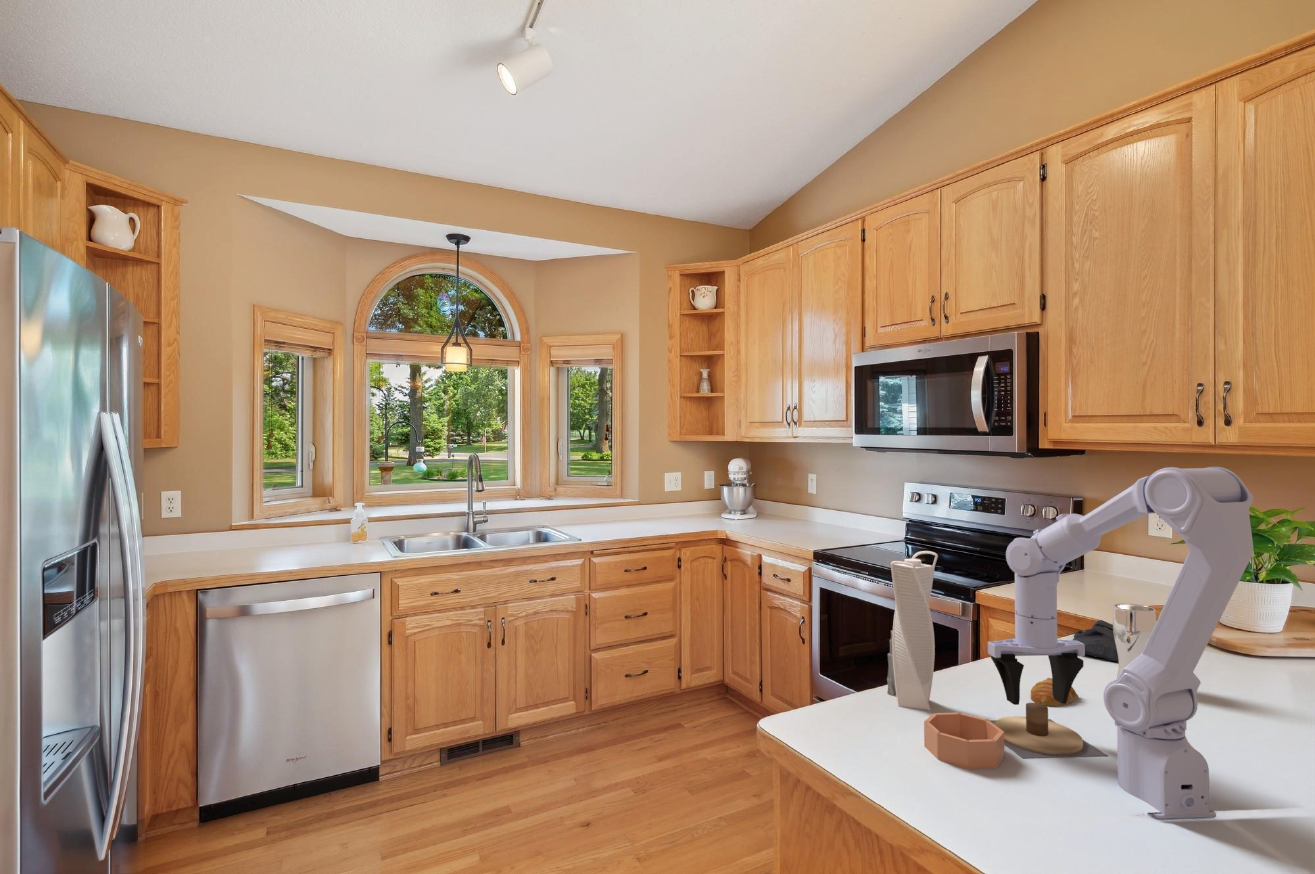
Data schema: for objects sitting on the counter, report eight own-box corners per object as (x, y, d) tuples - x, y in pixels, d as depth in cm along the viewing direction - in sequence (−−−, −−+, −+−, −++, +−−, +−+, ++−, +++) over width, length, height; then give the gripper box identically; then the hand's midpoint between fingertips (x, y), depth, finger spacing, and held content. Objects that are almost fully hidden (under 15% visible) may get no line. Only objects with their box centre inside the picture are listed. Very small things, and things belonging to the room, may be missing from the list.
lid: (1102, 753, 96) (1101, 721, 96) (1024, 756, 95) (1023, 723, 95) (1049, 720, 108) (1048, 691, 108) (978, 722, 107) (978, 692, 107)
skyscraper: (935, 701, 118) (934, 548, 119) (942, 719, 111) (940, 555, 111) (886, 697, 121) (885, 546, 121) (889, 714, 113) (888, 553, 113)
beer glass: (1166, 688, 124) (1165, 609, 125) (1142, 693, 122) (1141, 612, 122) (1128, 676, 131) (1127, 601, 131) (1105, 680, 128) (1104, 604, 129)
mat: (1108, 760, 95) (1108, 755, 95) (1022, 763, 95) (1022, 757, 95) (1050, 723, 108) (1050, 718, 108) (974, 725, 108) (974, 720, 108)
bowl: (1016, 772, 92) (1016, 740, 92) (947, 774, 91) (947, 742, 91) (978, 740, 102) (977, 711, 102) (915, 742, 101) (915, 713, 101)
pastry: (1062, 716, 112) (1061, 694, 112) (1020, 704, 117) (1019, 683, 117) (1080, 702, 118) (1080, 681, 118) (1039, 692, 123) (1039, 671, 123)
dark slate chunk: (1059, 655, 146) (1059, 634, 146) (1077, 634, 162) (1077, 615, 162) (1144, 670, 136) (1144, 648, 136) (1154, 647, 152) (1154, 626, 152)
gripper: (1063, 607, 106) (1063, 690, 106) (976, 608, 105) (977, 692, 105) (1094, 619, 99) (1095, 708, 99) (1002, 620, 98) (1002, 710, 98)
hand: (1036, 701), depth 102 cm, fingers open, 7 cm apart
